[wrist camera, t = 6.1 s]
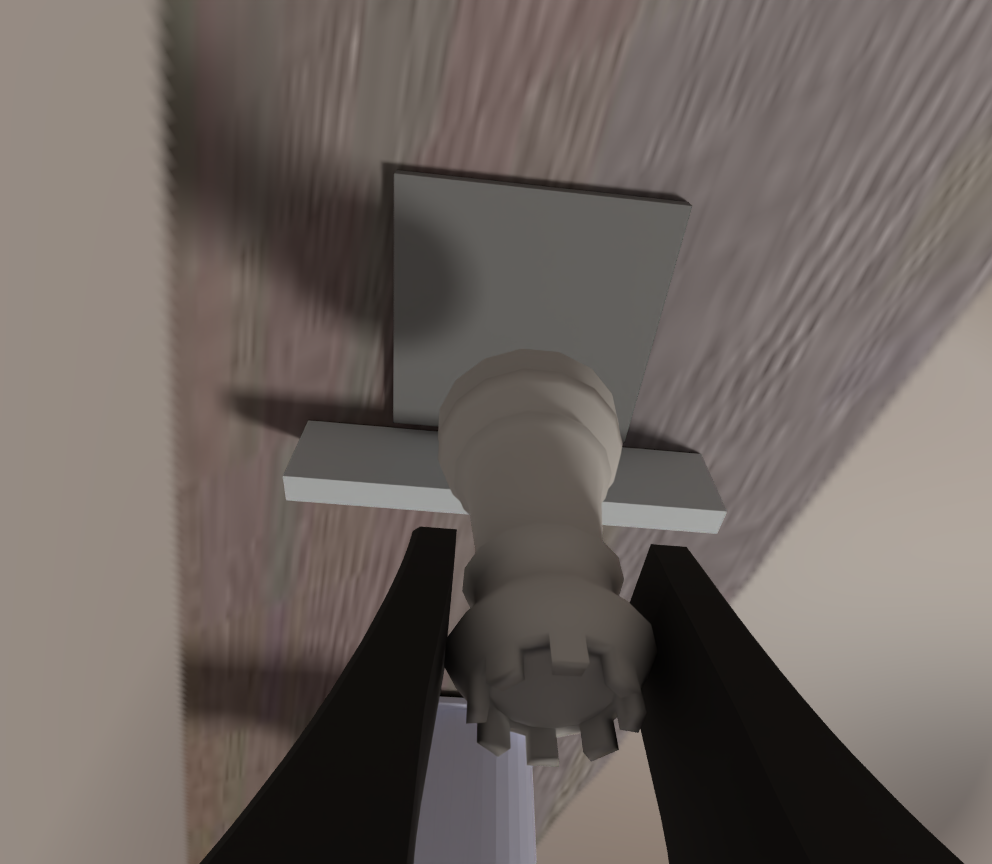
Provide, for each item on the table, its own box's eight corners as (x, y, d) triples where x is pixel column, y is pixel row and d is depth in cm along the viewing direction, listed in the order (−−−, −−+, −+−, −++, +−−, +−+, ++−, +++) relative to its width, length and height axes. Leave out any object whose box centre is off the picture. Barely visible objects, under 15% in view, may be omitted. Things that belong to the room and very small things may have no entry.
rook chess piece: (404, 389, 15) (330, 677, 8) (571, 306, 13) (651, 560, 7) (490, 513, 17) (490, 824, 10) (640, 451, 16) (755, 753, 9)
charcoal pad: (622, 435, 21) (624, 442, 21) (395, 416, 21) (393, 422, 20) (688, 201, 16) (691, 205, 16) (396, 169, 16) (394, 173, 16)
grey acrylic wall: (692, 475, 22) (717, 533, 20) (310, 443, 21) (286, 499, 19) (701, 453, 21) (726, 511, 19) (308, 420, 21) (282, 476, 18)
